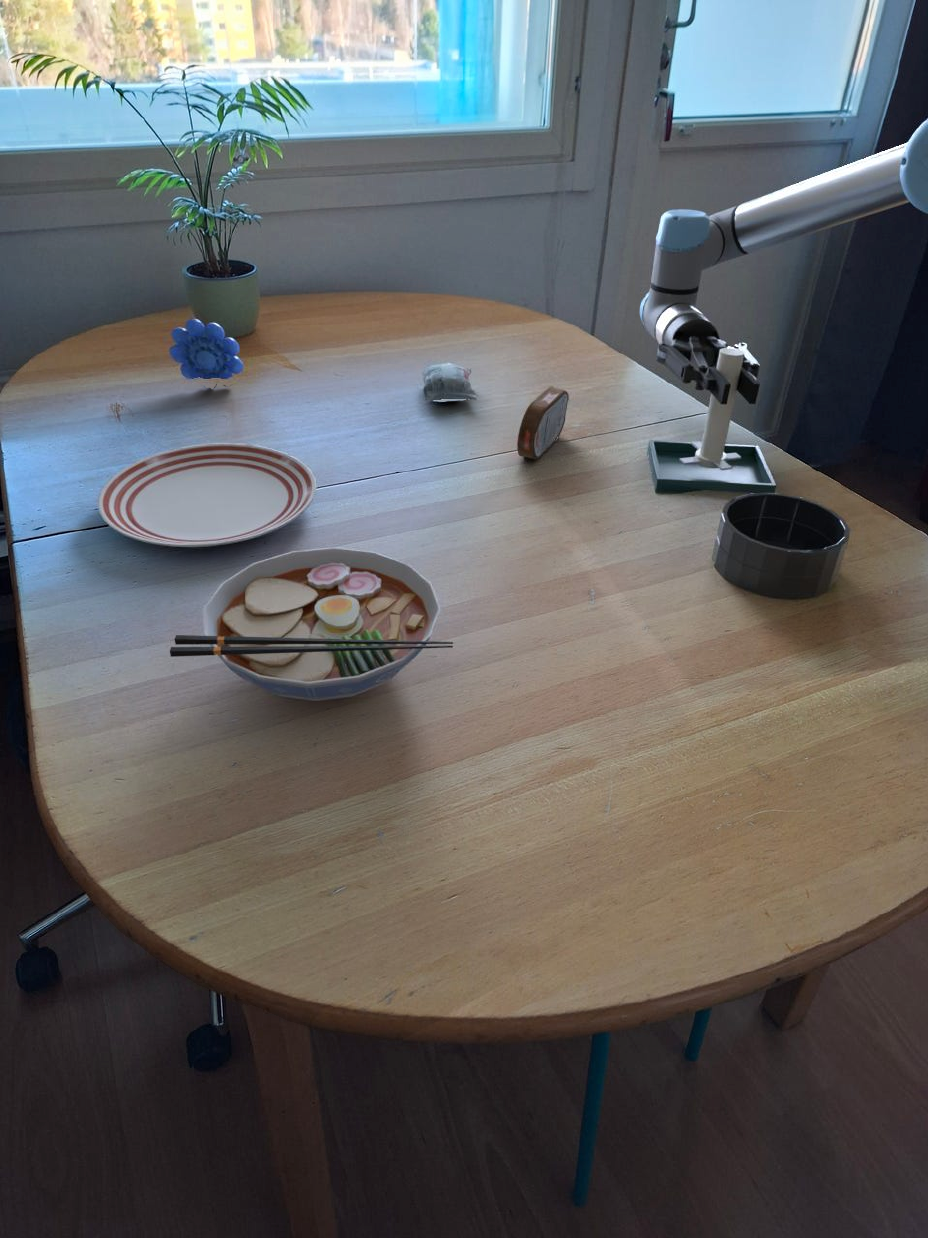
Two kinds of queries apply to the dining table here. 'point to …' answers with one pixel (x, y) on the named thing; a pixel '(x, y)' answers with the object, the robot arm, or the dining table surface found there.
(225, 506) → the dinner plate
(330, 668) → the ramen bowl
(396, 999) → the dining table surface
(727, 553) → the bowl
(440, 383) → the packaged food
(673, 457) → the tray
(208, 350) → the blue flower rosette
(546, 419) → the tin
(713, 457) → the blade
